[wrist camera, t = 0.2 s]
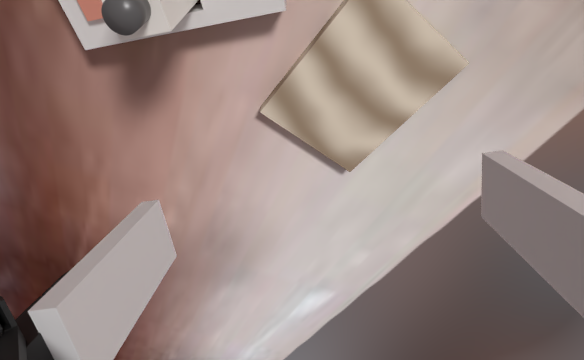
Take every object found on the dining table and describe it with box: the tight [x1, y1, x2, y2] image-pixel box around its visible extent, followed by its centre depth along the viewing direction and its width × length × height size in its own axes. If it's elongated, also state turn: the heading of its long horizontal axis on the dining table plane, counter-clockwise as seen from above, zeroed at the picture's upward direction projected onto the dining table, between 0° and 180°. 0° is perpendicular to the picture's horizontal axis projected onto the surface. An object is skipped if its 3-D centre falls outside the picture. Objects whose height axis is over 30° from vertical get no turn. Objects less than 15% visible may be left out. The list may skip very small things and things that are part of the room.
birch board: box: [260, 0, 469, 172], centre depth 40 cm, size 18×14×2 cm
